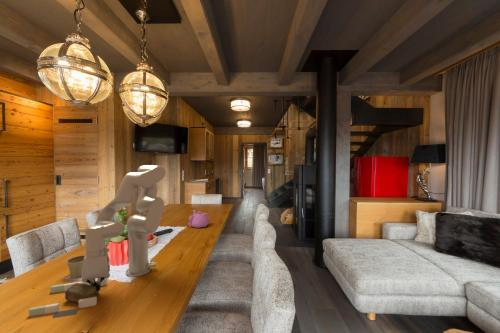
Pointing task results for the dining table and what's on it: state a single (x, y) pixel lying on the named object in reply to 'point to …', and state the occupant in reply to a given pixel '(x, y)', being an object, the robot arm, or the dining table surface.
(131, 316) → the dining table surface
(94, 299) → the set of beige bars
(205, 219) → the teapot
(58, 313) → the mat
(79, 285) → the stone block
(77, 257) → the flower pot
